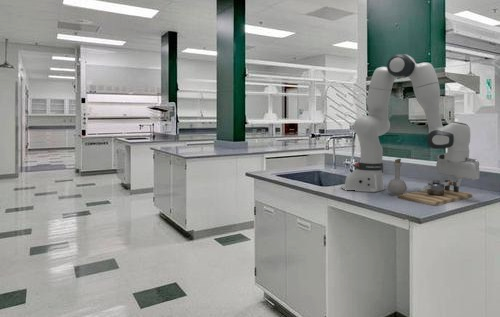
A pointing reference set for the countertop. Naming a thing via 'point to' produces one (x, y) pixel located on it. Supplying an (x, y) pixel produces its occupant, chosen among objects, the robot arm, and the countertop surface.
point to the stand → (436, 196)
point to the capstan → (436, 187)
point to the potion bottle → (397, 181)
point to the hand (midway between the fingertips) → (455, 185)
